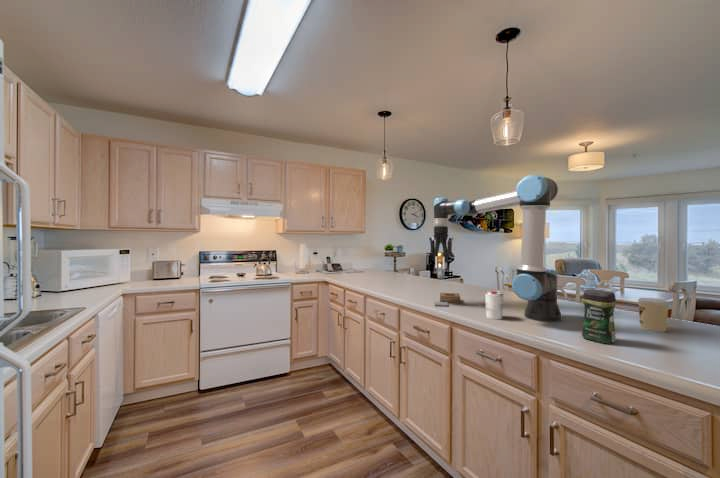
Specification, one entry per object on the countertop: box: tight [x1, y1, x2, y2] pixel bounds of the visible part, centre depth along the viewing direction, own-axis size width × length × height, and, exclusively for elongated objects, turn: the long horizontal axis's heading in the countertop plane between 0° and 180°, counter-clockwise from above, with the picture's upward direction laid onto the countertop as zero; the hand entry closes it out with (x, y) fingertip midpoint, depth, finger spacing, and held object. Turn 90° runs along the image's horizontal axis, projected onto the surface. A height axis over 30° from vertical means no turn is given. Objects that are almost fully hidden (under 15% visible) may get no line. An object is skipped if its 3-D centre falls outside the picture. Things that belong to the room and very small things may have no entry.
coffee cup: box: [637, 297, 670, 333], centre depth 130 cm, size 9×9×12 cm
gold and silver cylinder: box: [437, 252, 445, 280], centre depth 175 cm, size 4×4×14 cm
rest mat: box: [434, 301, 449, 308], centre depth 176 cm, size 7×7×1 cm
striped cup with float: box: [484, 290, 505, 321], centre depth 149 cm, size 10×8×12 cm
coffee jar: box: [581, 288, 617, 344], centre depth 117 cm, size 10×8×19 cm
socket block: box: [439, 292, 461, 305], centre depth 184 cm, size 11×11×4 cm
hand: (440, 268), depth 175 cm, fingers closed on gold and silver cylinder, 4 cm apart
